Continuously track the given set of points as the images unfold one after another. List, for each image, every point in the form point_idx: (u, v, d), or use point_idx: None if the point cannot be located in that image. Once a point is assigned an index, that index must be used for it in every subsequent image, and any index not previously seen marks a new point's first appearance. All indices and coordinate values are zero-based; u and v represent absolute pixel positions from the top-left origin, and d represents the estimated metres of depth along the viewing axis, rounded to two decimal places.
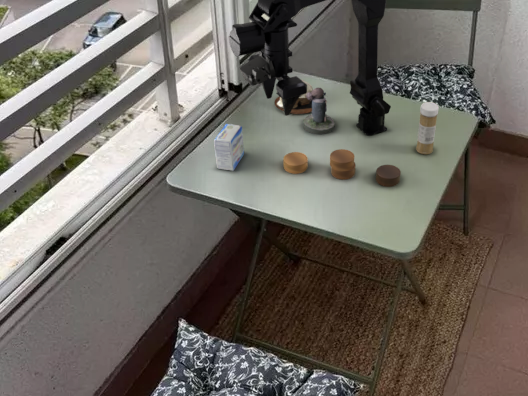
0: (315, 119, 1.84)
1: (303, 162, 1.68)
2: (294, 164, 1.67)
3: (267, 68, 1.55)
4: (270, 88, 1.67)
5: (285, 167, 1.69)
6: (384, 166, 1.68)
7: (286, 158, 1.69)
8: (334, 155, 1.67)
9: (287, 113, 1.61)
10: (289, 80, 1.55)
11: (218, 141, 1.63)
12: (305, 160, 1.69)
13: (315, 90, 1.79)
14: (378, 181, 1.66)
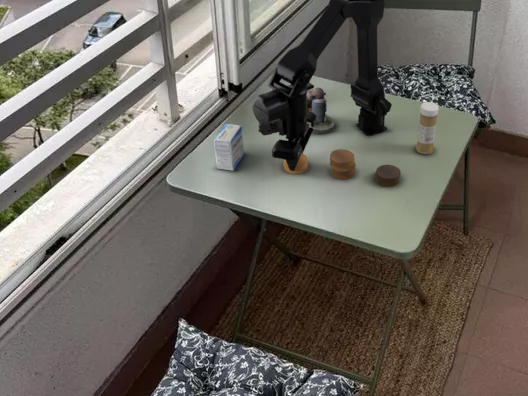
0: None
1: (303, 162, 1.68)
2: None
3: (277, 125, 1.61)
4: (301, 148, 1.71)
5: (285, 167, 1.69)
6: (384, 166, 1.68)
7: None
8: (334, 155, 1.67)
9: (291, 169, 1.67)
10: (286, 143, 1.59)
11: (218, 141, 1.63)
12: (305, 160, 1.69)
13: (315, 90, 1.79)
14: (378, 181, 1.66)
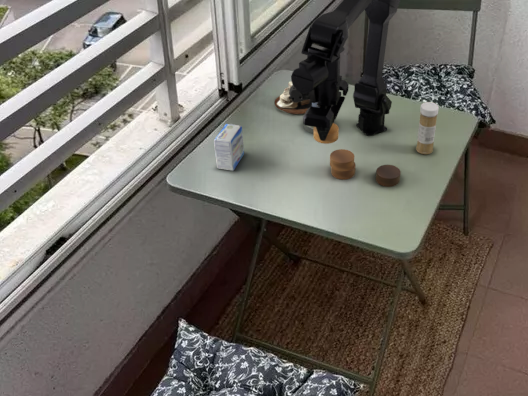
0: None
1: (334, 132, 1.62)
2: None
3: (308, 91, 1.55)
4: None
5: (315, 137, 1.62)
6: (384, 166, 1.68)
7: None
8: (334, 155, 1.67)
9: (322, 138, 1.61)
10: (318, 110, 1.52)
11: (218, 141, 1.63)
12: (336, 130, 1.62)
13: None
14: (378, 181, 1.66)
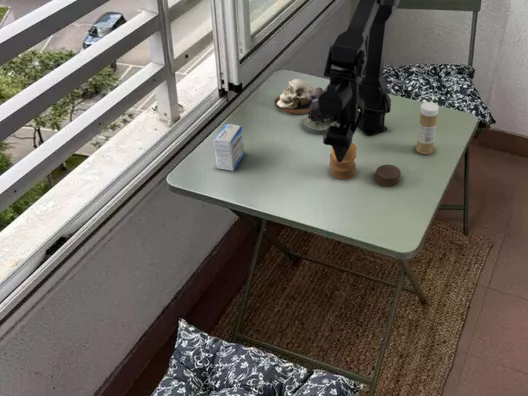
0: None
1: (352, 151, 1.64)
2: None
3: None
4: None
5: (333, 156, 1.65)
6: (384, 166, 1.68)
7: None
8: None
9: (339, 160, 1.62)
10: (337, 129, 1.55)
11: (218, 141, 1.63)
12: (354, 149, 1.65)
13: (315, 90, 1.79)
14: (378, 181, 1.66)
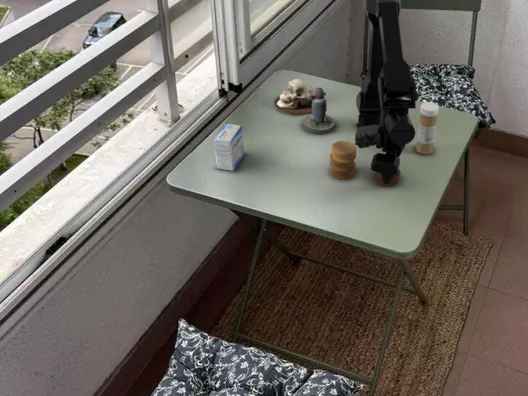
0: (315, 119, 1.84)
1: (352, 151, 1.64)
2: (343, 153, 1.63)
3: (374, 137, 1.59)
4: None
5: (333, 156, 1.65)
6: None
7: (334, 147, 1.65)
8: None
9: (385, 182, 1.65)
10: (385, 156, 1.56)
11: (218, 141, 1.63)
12: (354, 149, 1.65)
13: (315, 90, 1.79)
14: (378, 181, 1.66)
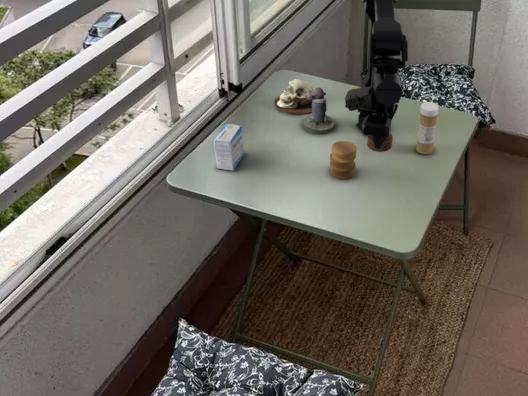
0: (315, 119, 1.84)
1: (352, 151, 1.64)
2: (343, 153, 1.63)
3: (365, 99, 1.53)
4: None
5: (333, 156, 1.65)
6: None
7: (334, 147, 1.65)
8: None
9: (377, 147, 1.59)
10: (376, 118, 1.51)
11: (218, 141, 1.63)
12: (354, 149, 1.65)
13: (315, 90, 1.79)
14: (370, 146, 1.61)
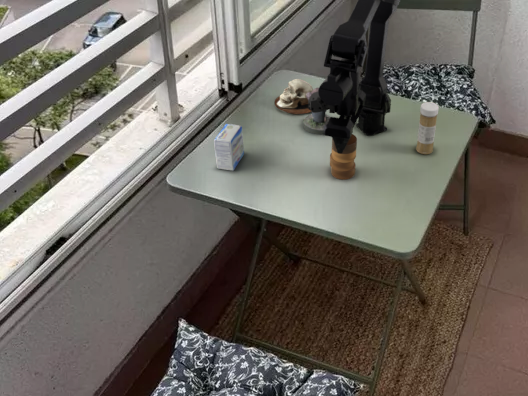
0: (315, 119, 1.84)
1: None
2: None
3: None
4: None
5: (333, 156, 1.65)
6: None
7: None
8: None
9: (339, 152, 1.60)
10: (338, 120, 1.53)
11: (218, 141, 1.63)
12: None
13: (315, 90, 1.79)
14: (334, 148, 1.63)
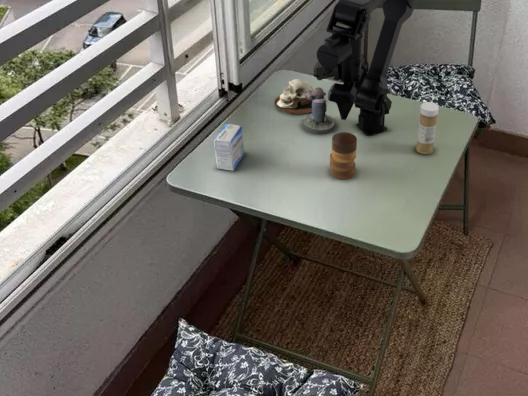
0: (315, 119, 1.84)
1: None
2: None
3: (332, 69, 1.62)
4: None
5: (333, 156, 1.65)
6: (340, 134, 1.65)
7: None
8: None
9: (343, 118, 1.66)
10: (342, 86, 1.59)
11: (218, 141, 1.63)
12: None
13: (315, 90, 1.79)
14: (334, 148, 1.63)
